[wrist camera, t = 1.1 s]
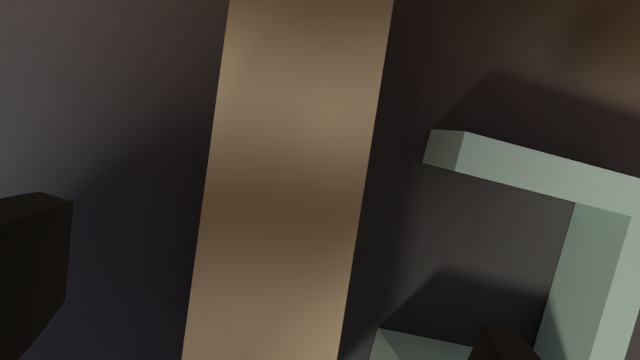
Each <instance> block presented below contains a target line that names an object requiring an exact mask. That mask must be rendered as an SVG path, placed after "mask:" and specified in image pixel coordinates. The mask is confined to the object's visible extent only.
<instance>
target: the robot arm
mask: <svg viewBox="0 0 640 360" xmlns="http://www.w3.org/2000/svg"><path fill="white" fill-rule="evenodd" d="M72 212H73V202H72V201H69V200H65V199H62V198H58V197H55V196H52V195H48V194H45V193H42V192H37V193H29V194H22V195H17V196H11V197H6V198H1V199H0V360H17V359H18V358H19V357H20V356H21V355H22V354H23V353H24V352H25V351H26V350H27V349H28V348H29V347H30V346H31V344H32V343H33V342H34V341H35V339H36V338H37V337H38V335H39V334H40V333H41V332H42V330H43V329H44V328H45V326H46V325H47V324H48V322H49V321H50V320H51V318H52V317H53V316H54V314H55V313H56V311H57V310H58V309H59V307H60V306H61V305H62V303H63V302H64V300H65V292H66V280H67V269H68V258H69V246H70V235H71V224H72ZM468 360H541V359H540V358H539V356H538V355H537V354H536V353H535V351H534V350H533V349H532V348H531V347H530V345H529V344H528V343H527V342H526V341H525V340H524V339H523V338H522V336H521V335H520V334H517V333H514V332H510V331H507V330H503V329H500V328H497V327H493V326H490V325H487V324H483V325H482V327H481V330H480V332H479V334H478V337H477V339H476V341H475V344H474V346H473V348H472V351H471V353H470V355H469V357H468Z"/></svg>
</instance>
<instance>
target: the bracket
mask: <svg viewBox="0 0 640 360" xmlns="http://www.w3.org/2000/svg"><path fill="white" fill-rule="evenodd" d="M422 163H424V164H428V165H432V166H436V167H440V168H444V169H448V170H452V171H455V172H459V173H463V174H467V175H471V176H475V177H479V178H483V179H487V180H491V181H494V182H498V183H502V184H506V185H510V186H514V187H518V188H522V189H526V190H529V191H533V192H537V193H541V194H545V195H549V196H553V197H557V198H561V199H565V200H568V201H572V202H576V203H575V207H574V210H573V214H572V217H571V221H570V224H569V228H568V231H567V235H566V238H565V242H564V245H563V248H562V252H561V255H560V259H559V262H558V266H557V269H556V273H555V276H554V280H553V283H552V286H551V290H550V293H549V297H548V300H547V304H546V307H545V311H544V314H543V318H542V321H541V325H540V328H539V331H538V335H537V338H536V342H535V345H534V349H533V350H534V351H535V353H536V354H537V355H538V356H539V358H540V359H541V360H624V358H625V355H626V352H627V348H628V345H629V342H630V338H631V335H632V332H633V328H634V325H635V322H636V319H637V315H638V312H639V309H640V178H636V177H632V176H629V175H625V174H621V173H618V172H614V171H610V170H607V169H603V168H599V167H595V166H592V165H588V164H584V163H581V162H577V161H573V160H570V159H566V158H562V157H558V156H555V155H551V154H547V153H544V152H540V151H536V150H532V149H529V148H525V147H521V146H518V145H514V144H510V143H507V142H503V141H499V140H495V139H492V138H488V137H484V136H481V135H477V134H473V133H470V132H466V131H452V130H437V129H431V131H430V135H429V139H428V143H427V146H426V150H425V154H424V157H423V161H422ZM472 348H473V347H470V346H465V345H460V344H455V343H450V342H445V341H440V340H436V339H431V338H426V337H421V336H416V335H411V334H406V333H401V332H396V331H391V330H386V329H381V328H378V329H377V333H376V336H375V340H374V344H373V347H372V351H371V355H370V359H369V360H468V357H469V355H470V353H471V351H472Z"/></svg>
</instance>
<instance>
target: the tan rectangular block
mask: <svg viewBox="0 0 640 360" xmlns="http://www.w3.org/2000/svg"><path fill="white" fill-rule="evenodd" d="M393 3H394V0H230V2H229V10H228V17H227V25H226V32H225V39H224V47H223V54H222V62H221V69H220V77H219V84H218V92H217V99H216V106H215V114H214V121H213V129H212V136H211V144H210V151H209V159H208V166H207V173H206V181H205V188H204V196H203V203H202V211H201V218H200V226H199V233H198V240H197V248H196V255H195V263H194V270H193V278H192V285H191V293H190V300H189V307H188V315H187V322H186V330H185V337H184V345H183V352H182V359H181V360H337V356H338V350H339V343H340V337H341V331H342V325H343V318H344V312H345V306H346V299H347V293H348V287H349V280H350V274H351V268H352V262H353V255H354V249H355V243H356V236H357V230H358V224H359V217H360V211H361V205H362V198H363V192H364V186H365V180H366V173H367V167H368V161H369V154H370V148H371V142H372V135H373V129H374V123H375V117H376V110H377V104H378V98H379V91H380V85H381V79H382V72H383V66H384V60H385V53H386V47H387V41H388V35H389V28H390V22H391V16H392V9H393Z"/></svg>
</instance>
